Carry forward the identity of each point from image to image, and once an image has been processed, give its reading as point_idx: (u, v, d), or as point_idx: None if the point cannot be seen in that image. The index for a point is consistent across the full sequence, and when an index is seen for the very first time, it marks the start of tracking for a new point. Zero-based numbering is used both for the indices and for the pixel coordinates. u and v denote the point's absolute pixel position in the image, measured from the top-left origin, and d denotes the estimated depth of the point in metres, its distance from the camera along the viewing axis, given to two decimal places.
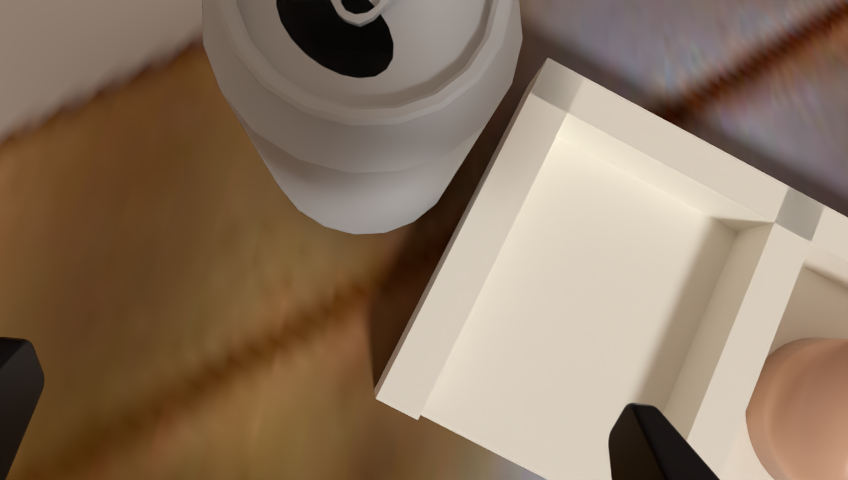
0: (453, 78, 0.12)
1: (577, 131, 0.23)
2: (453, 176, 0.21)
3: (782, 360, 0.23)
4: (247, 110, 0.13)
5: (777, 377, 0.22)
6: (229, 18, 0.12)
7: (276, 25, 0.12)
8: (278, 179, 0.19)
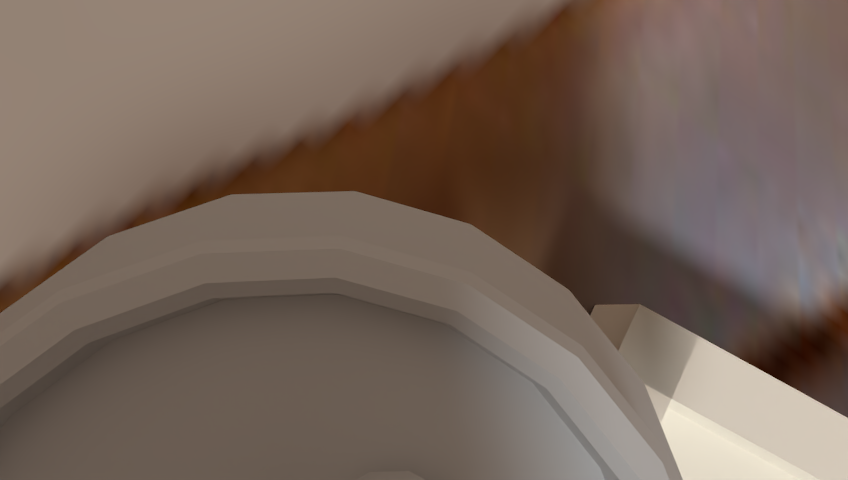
0: None
1: (679, 408, 0.15)
2: None
3: None
4: None
5: None
6: None
7: None
8: None
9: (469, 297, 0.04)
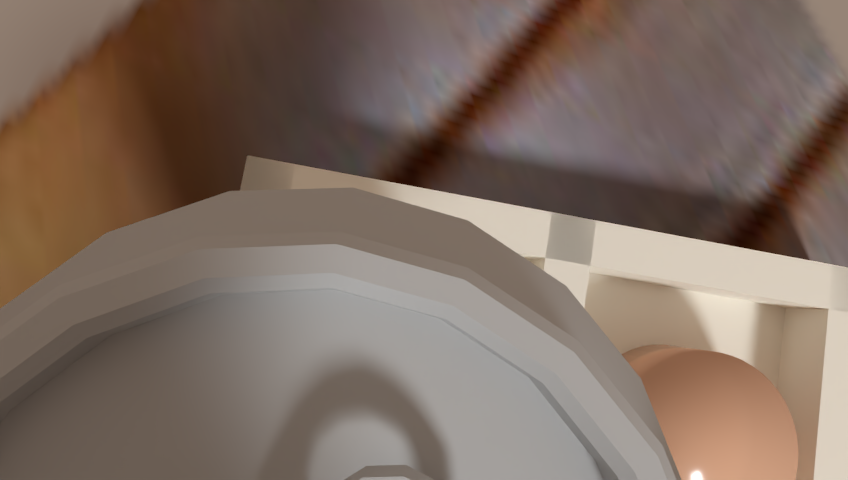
0: None
1: None
2: None
3: None
4: None
5: None
6: None
7: None
8: None
9: (465, 292, 0.04)
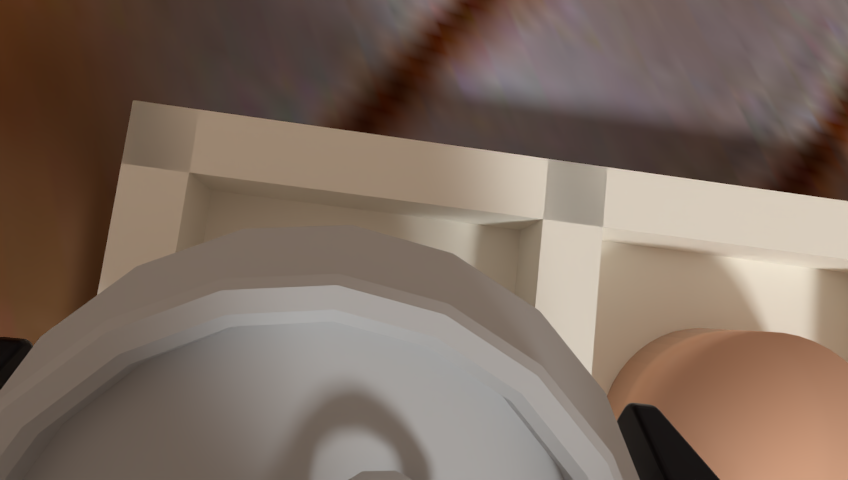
0: None
1: (232, 185, 0.15)
2: None
3: (624, 393, 0.16)
4: None
5: None
6: None
7: None
8: None
9: (446, 325, 0.05)
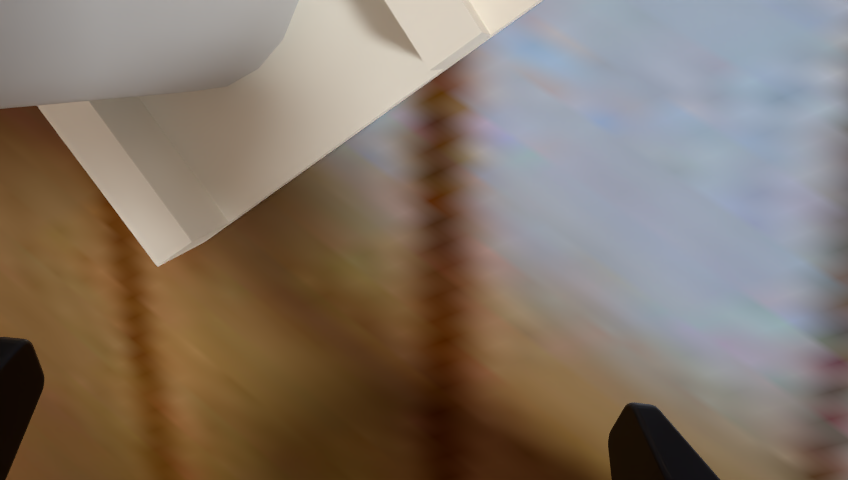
0: None
1: None
2: None
3: None
4: None
5: None
6: None
7: None
8: None
9: None
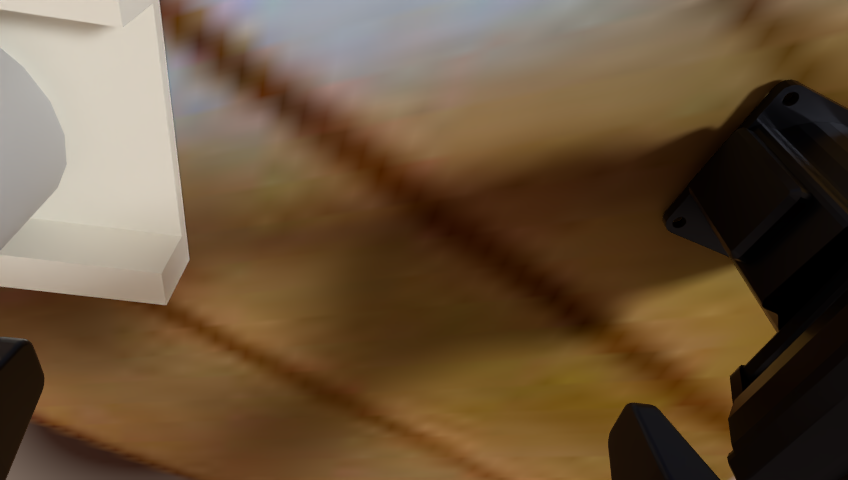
0: None
1: None
2: None
3: None
4: None
5: None
6: None
7: None
8: None
9: None
